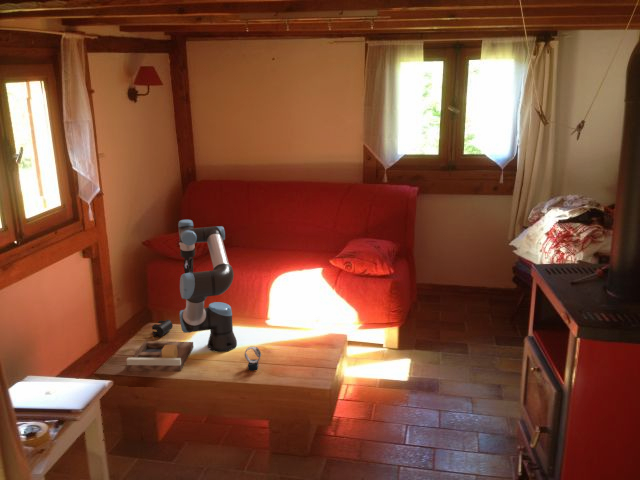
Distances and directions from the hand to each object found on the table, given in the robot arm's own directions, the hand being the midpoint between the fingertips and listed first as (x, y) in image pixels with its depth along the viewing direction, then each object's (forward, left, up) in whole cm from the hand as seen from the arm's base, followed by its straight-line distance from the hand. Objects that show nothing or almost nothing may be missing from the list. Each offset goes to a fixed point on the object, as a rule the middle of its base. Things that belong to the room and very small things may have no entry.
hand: (190, 290), depth 317 cm
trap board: (+10, +27, -26) cm, 39 cm away
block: (+4, +32, -23) cm, 40 cm away
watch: (-38, +36, -27) cm, 59 cm away
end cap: (+18, -2, -27) cm, 32 cm away
